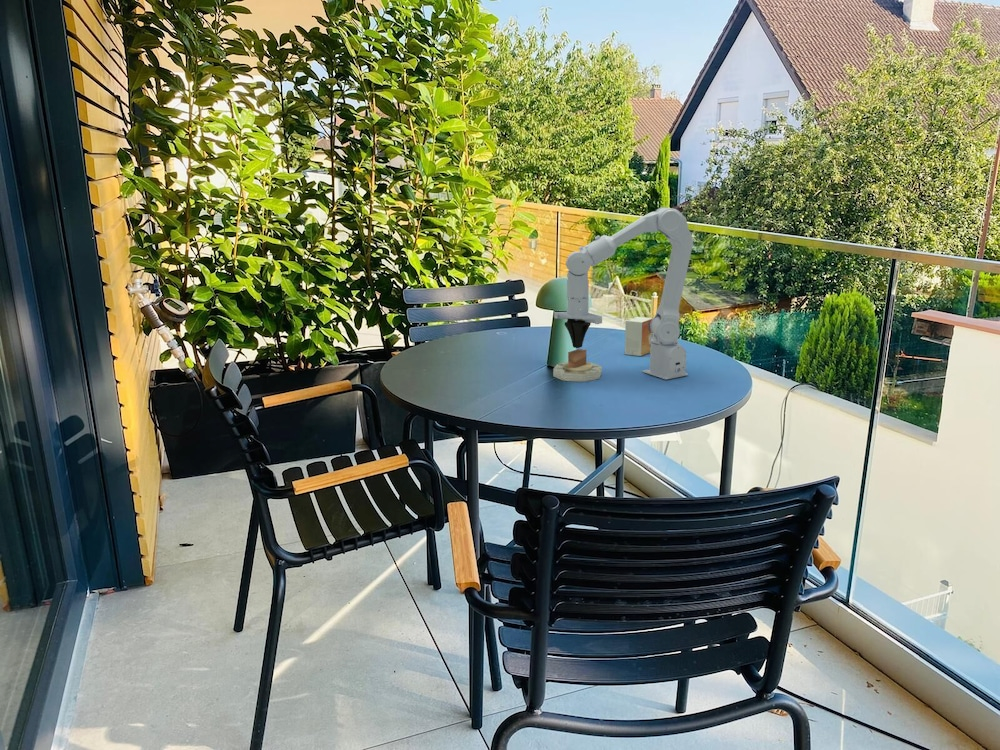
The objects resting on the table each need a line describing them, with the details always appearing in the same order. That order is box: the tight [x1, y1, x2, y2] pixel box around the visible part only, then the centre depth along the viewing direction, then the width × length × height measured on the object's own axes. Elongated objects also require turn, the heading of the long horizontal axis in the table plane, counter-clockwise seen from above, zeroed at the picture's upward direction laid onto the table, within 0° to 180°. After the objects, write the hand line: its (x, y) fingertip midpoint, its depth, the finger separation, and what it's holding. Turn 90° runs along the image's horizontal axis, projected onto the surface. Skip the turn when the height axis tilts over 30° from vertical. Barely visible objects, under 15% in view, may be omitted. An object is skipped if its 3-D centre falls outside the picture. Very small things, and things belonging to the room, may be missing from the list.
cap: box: [563, 348, 592, 371], centre depth 192 cm, size 8×8×7 cm
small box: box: [624, 316, 654, 357], centre depth 214 cm, size 8×6×10 cm
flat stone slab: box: [552, 361, 603, 383], centre depth 192 cm, size 12×12×2 cm
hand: (577, 347), depth 191 cm, fingers closed
